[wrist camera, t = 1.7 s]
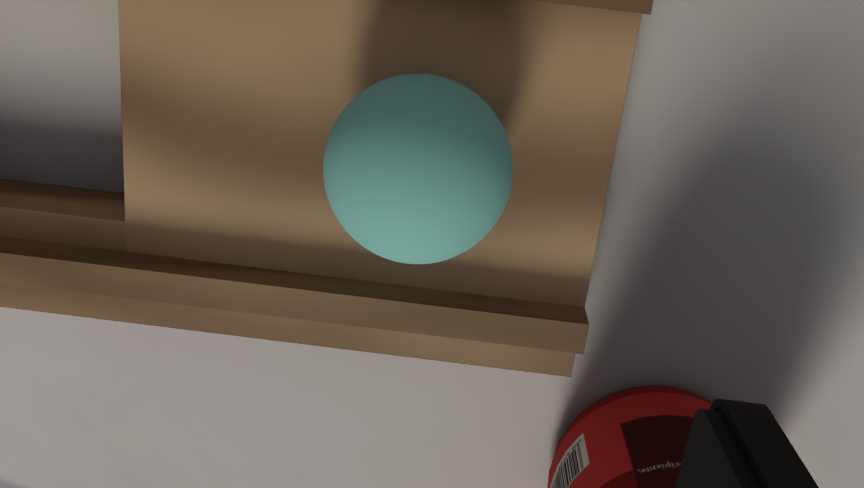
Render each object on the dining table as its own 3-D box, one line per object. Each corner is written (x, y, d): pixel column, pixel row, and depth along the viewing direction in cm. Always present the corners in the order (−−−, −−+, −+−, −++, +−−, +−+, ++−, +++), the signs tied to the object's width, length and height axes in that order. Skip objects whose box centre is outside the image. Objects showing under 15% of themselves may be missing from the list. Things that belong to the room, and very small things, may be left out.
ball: (345, 50, 23) (311, 80, 18) (521, 71, 23) (531, 106, 18) (334, 216, 25) (300, 282, 20) (497, 236, 25) (501, 306, 20)
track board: (-236, -187, 24) (-357, -207, 20) (643, -86, 24) (671, -90, 20) (-161, 252, 29) (-249, 294, 25) (563, 340, 29) (574, 396, 25)
